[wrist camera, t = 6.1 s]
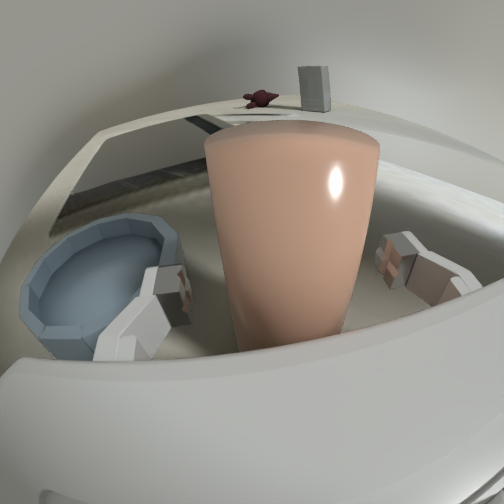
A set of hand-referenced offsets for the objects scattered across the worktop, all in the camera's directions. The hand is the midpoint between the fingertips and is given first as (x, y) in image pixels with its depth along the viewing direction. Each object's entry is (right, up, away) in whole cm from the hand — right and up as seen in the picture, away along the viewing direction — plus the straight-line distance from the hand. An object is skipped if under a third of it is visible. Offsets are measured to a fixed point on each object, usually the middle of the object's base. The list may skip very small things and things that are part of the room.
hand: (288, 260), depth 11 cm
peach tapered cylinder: (0, -5, +3) cm, 6 cm away
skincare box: (+19, +46, +67) cm, 83 cm away
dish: (-13, -2, +8) cm, 16 cm away
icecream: (+3, +54, +79) cm, 95 cm away
